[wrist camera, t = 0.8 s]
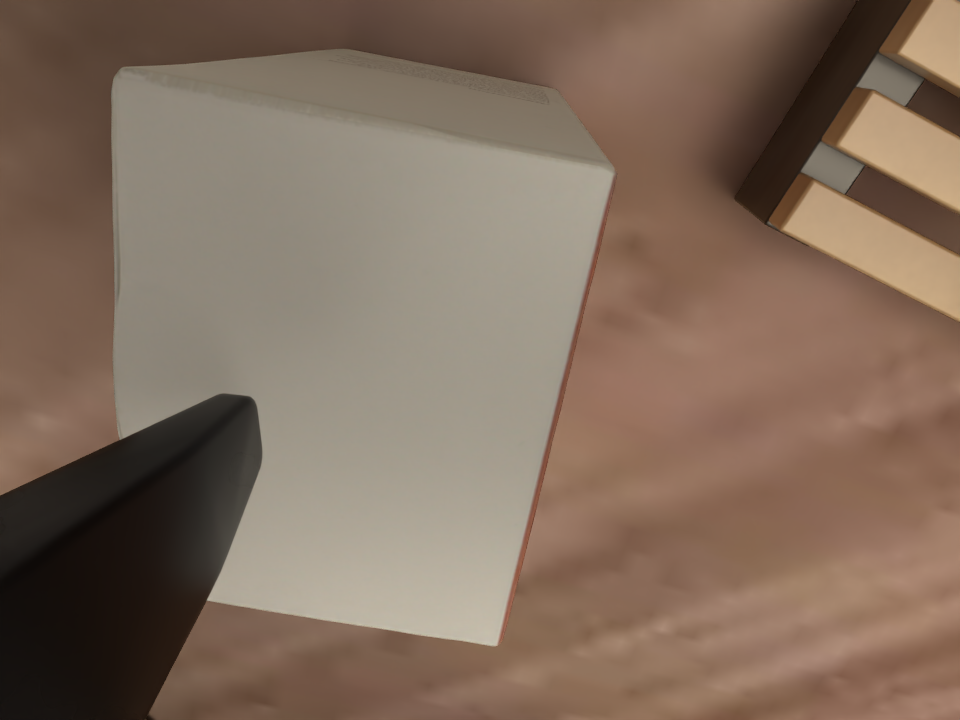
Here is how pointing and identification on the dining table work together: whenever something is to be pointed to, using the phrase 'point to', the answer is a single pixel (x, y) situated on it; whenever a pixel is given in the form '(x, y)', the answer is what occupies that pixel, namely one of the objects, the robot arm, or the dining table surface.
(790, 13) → the dining table surface
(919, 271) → the rack
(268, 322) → the small box
